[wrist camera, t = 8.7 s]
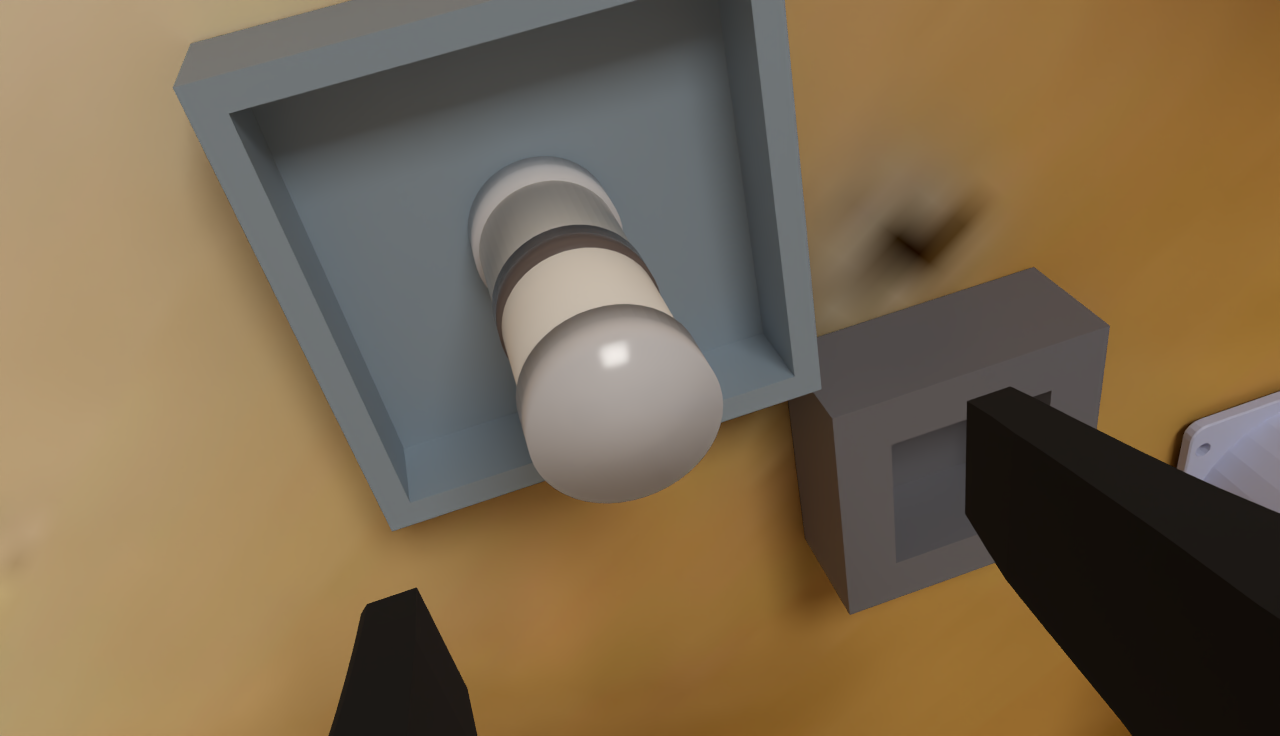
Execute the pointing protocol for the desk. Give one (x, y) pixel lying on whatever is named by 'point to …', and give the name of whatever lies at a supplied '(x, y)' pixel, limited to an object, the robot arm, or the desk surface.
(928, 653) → the desk surface
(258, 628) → the desk surface
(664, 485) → the fuse
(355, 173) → the parts tray
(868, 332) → the grey square holder
